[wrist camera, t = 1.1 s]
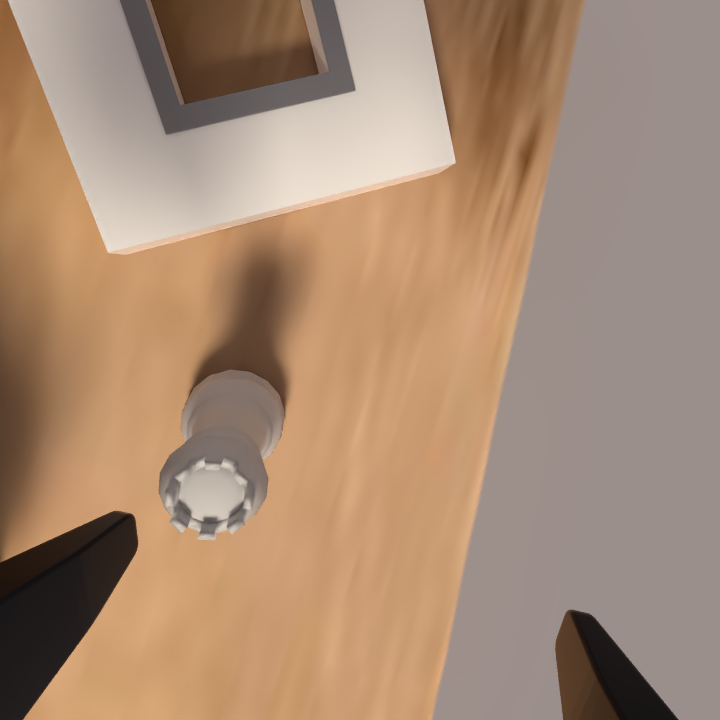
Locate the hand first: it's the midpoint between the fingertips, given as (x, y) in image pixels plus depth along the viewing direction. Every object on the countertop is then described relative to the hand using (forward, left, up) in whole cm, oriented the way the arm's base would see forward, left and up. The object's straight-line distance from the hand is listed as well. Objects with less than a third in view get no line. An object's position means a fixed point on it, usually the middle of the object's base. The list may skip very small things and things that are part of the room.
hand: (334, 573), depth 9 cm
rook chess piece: (-3, 0, -13) cm, 13 cm away
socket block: (+2, +15, -12) cm, 20 cm away
